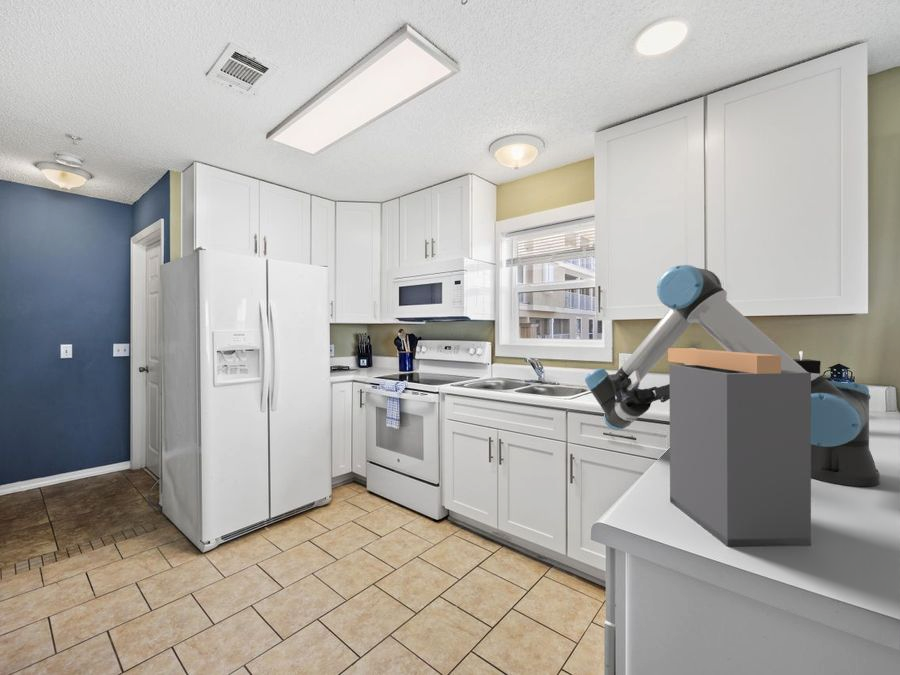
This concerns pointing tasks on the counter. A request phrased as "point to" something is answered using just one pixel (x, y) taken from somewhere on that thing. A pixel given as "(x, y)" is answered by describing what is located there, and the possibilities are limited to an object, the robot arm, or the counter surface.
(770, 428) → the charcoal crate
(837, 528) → the counter surface
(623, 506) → the counter surface
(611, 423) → the robot arm
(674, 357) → the slat
